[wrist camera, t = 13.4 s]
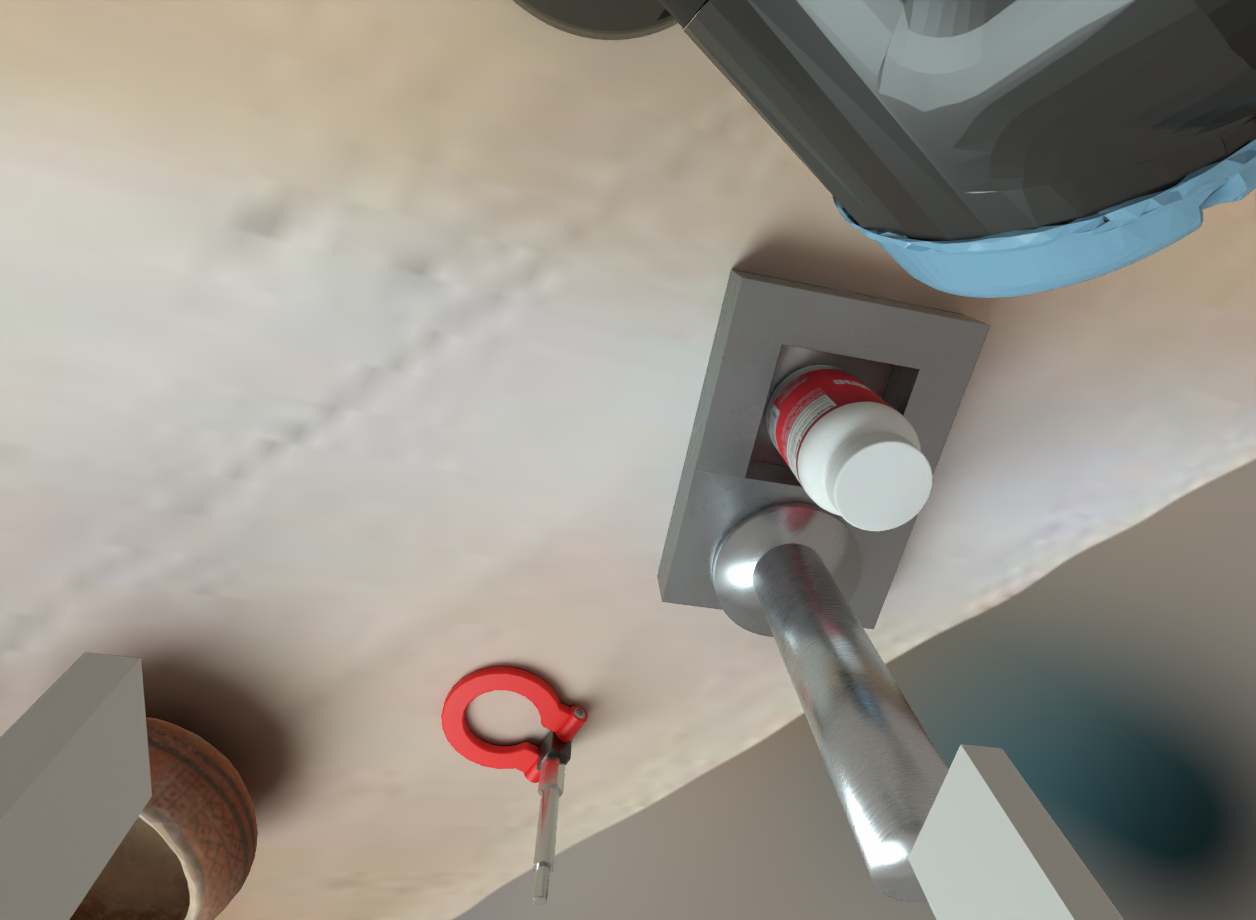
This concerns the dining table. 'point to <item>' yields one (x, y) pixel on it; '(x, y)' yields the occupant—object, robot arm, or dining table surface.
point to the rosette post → (819, 541)
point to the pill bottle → (849, 448)
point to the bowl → (179, 837)
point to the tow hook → (521, 749)
